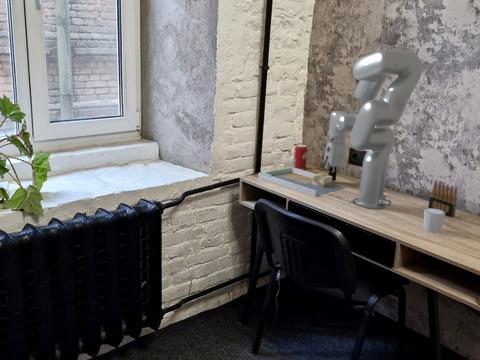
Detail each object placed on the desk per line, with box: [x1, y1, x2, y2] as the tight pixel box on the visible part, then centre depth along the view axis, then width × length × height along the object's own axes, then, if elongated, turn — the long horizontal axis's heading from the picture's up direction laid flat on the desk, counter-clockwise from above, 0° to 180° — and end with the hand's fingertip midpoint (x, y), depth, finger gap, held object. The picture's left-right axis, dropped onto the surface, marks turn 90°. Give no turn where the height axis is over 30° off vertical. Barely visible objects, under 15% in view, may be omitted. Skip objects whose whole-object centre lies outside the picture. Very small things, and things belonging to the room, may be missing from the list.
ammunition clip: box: [427, 180, 458, 218], centre depth 191 cm, size 11×2×12 cm, turn 33°
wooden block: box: [311, 173, 333, 187], centre depth 214 cm, size 6×6×4 cm
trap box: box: [257, 166, 347, 197], centre depth 216 cm, size 32×22×4 cm
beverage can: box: [292, 144, 308, 171], centre depth 243 cm, size 6×6×12 cm
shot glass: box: [422, 207, 446, 234], centre depth 172 cm, size 7×7×7 cm
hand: (331, 180), depth 219 cm, fingers closed
